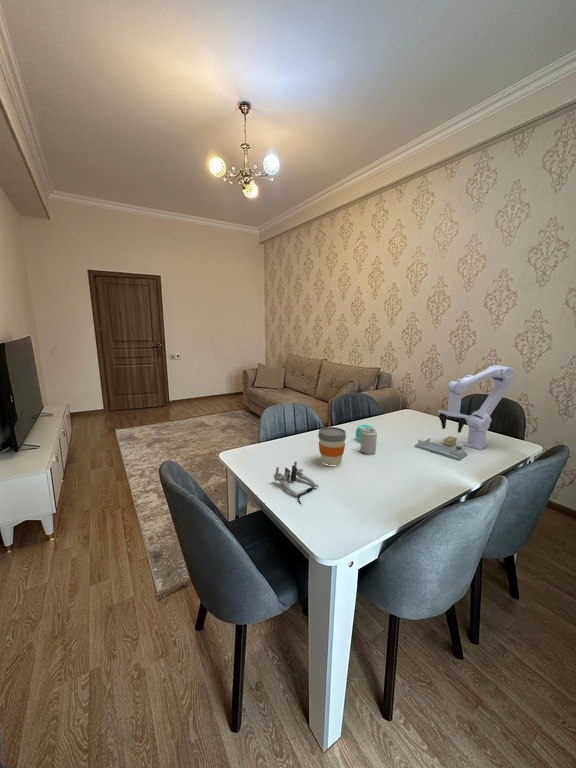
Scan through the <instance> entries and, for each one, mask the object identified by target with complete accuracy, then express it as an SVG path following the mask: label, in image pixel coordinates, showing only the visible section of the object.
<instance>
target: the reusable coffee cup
mask: <svg viewBox="0 0 576 768" xmlns="http://www.w3.org/2000/svg"><path fill="white" fill-rule="evenodd" d="M318 430H319V431H318V434H317V435H318V436H317V438H318V449H319V453H320V460H321V463H322V462H323V463H325V464H328V465H339V464H340V463H341V464H342V459H343V455H344V453H345V448H346V447H345V446H346V439H347V434H346V430H345V429H343V428H340V427H335V426H327V427H326V426H325V427H321V428H320V429H318ZM323 463H322V464H323ZM341 464H340V465H341ZM340 465H339V466H340Z"/></svg>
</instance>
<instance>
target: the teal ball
mask: <svg viewBox="0 0 576 768" xmlns="http://www.w3.org/2000/svg"><path fill="white" fill-rule="evenodd" d="M367 427H368V428H374V429H375V427H374V426H373V425H370V424H360V425H359V426H357V428H356V430H355V438H356V439H357V440H358V442H359V441H360V442H359V443H361V431H362V430H363V428H367Z"/></svg>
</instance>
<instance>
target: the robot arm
mask: <svg viewBox="0 0 576 768" xmlns="http://www.w3.org/2000/svg"><path fill="white" fill-rule="evenodd" d="M515 376H516V375H515V370H514V368H513V367H511V366H503V365H498V364H493V365H491V366H488V367H487V368H486V369H484V370H482V371H481V372H479V373H477V374H475V375H472V374H467V375H465V376H464V377H462V378H458V379H457V380H456V381H455V380H451V381H450V382H449V383H448V385H447V386H446V389H447V391H448V397H447V398H448V400H447V410H442V409H439V410H438V411H437V415H438V419H439V420H440V423H441V429H442V430H444V429H446V426H447V418H448V417H451V418H452V417H453V418H457V419H458V420H457V421H458V426H457V433H459V434H460V433H461V432H462V429H463V428H464V425H465V424H466V425H468V435H467V442H465V443H464V444H463V445H464V447H465V446H466V447H470V448H472V449H476V450H480V451H481V450H483V449H484V448H485V447H487V446H488V444H486V440H487V439H486V438H487V430H489V428H490V425H491V423H492V417H491V414H493V411H494V410H495V409H496V407H497V406H498V404H499V402H500V401H502V400H501V399H502V398H503V397H504V395H505V394H506V393H507V391H508V389H509V388H510V387H511V386H510V385H511V382H512V381H513V379H514V378H515ZM489 378H491V379H492V380H493V382H494V383H495V384H494V387H493V388H492V389H491V391H490V393H489V394H488V396H487V397H486V399H485V400H484V402H483V403H482V404H481V406H480V408H479V409H478V410H476V411H473V412H471V413H472V414H470V415H467V414H464V413H461V407H462V406H461V405H462V404H461V403H462V397H463V394H464V392H465V391H466V390H468V389H470V388H472V387H474V386H477V385H478V382H481V381H483V380H487V379H489Z"/></svg>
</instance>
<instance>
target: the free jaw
mask: <svg viewBox="0 0 576 768" xmlns="http://www.w3.org/2000/svg"><path fill="white" fill-rule="evenodd" d="M465 449H466V447H465V446H461V445H457V444H456V445H455V446H454V447H452V448H451V449H450V454H452V455H455V456H458V457H459V456H461V455H462V454H464V451H465ZM465 452H466V451H465Z"/></svg>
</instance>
